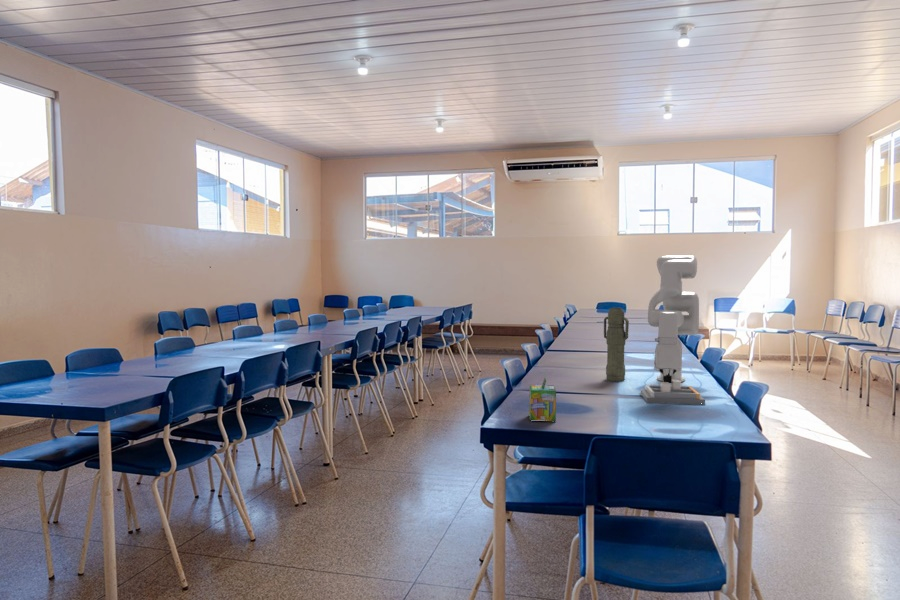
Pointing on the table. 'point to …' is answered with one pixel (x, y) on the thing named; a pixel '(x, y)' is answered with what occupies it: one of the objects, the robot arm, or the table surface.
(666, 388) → the tab
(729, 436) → the table surface
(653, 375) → the table surface
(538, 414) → the chalk box
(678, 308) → the robot arm
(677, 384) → the tab
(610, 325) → the thermos
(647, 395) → the switch board
